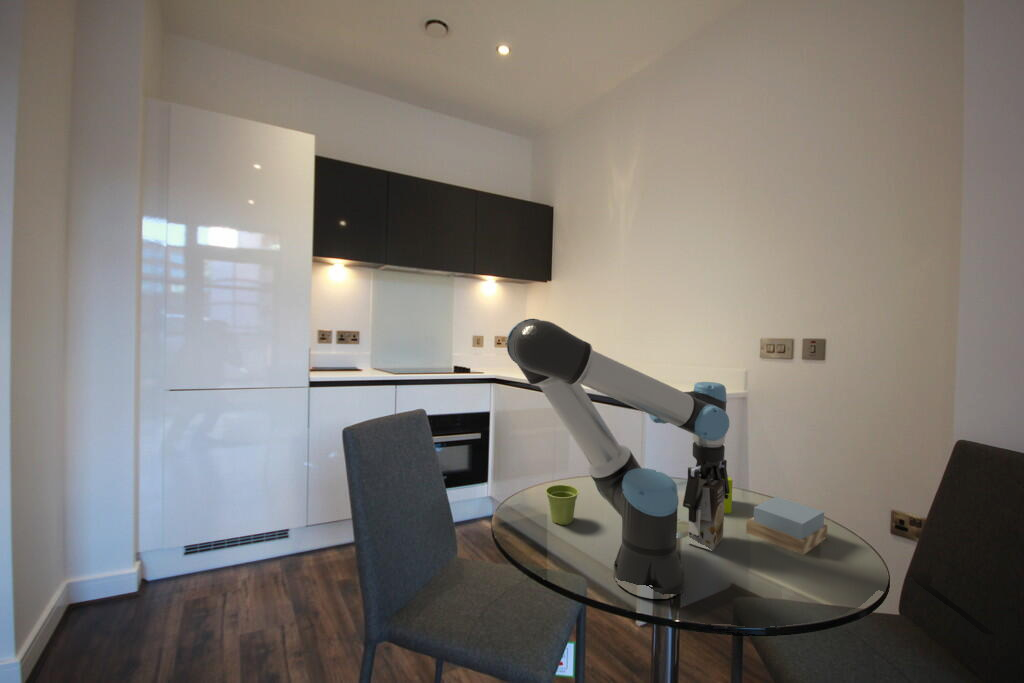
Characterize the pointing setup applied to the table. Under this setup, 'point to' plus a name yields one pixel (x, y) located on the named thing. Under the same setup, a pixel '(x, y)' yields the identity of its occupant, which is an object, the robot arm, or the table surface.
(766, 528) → the oak base slab
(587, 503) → the table surface
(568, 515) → the plant pot
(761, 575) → the table surface
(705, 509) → the coffee box
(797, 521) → the slate-blue top slab
